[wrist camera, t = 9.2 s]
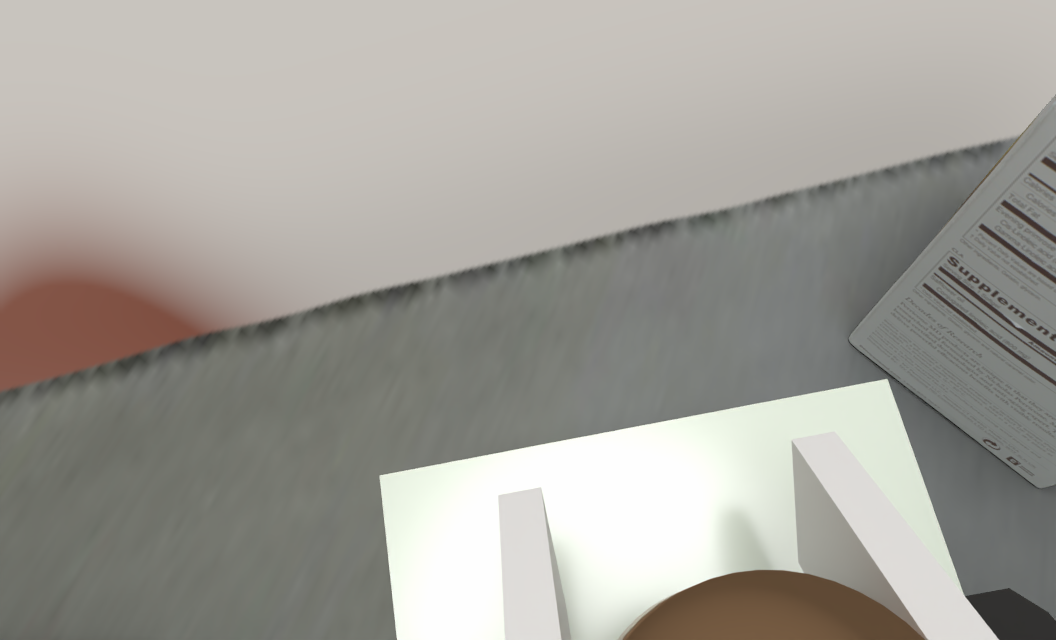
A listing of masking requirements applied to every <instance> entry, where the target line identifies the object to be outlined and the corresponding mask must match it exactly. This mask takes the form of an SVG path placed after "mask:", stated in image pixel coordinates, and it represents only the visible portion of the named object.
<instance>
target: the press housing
mask: <svg viewBox="0 0 1056 640" xmlns="http://www.w3.org/2000/svg"><path fill="white" fill-rule="evenodd" d="M834 431H835V432H836V433H837V435H838V436H839V437H840V438H841V440H842V441H843V442H844V444H845V445H846V446H847V447H848V449H849V450H850V451H851V452H852V454H853V455H854V456H855V458H856V459H857V460H858V461H859V463H860V464H861V465H862V466H863V468H864V469H865V470H866V472H867V473H868V474H869V475H870V477H871V478H872V479H873V480H874V482H875V483H876V484H877V485H878V487H879V488H880V489H881V491H882V492H883V493H884V494H885V496H886V497H887V498H888V499H889V501H890V502H891V503H892V505H893V506H894V507H895V508H896V510H897V511H898V512H899V513H900V515H901V516H902V517H903V518H904V520H905V521H906V522H907V524H908V525H909V526H910V527H911V529H912V530H913V531H914V532H915V534H916V535H917V536H918V538H919V539H920V540H921V541H922V543H923V544H924V545H925V546H926V548H927V549H928V550H929V551H930V553H931V554H932V555H933V557H934V558H935V559H936V560H937V562H938V563H939V564H940V565H941V567H942V568H943V569H944V571H945V572H946V573H947V574H948V576H949V577H950V578H951V579H952V581H953V582H954V583H955V584H956V586H957V587H958V588H959V590H960V591H961V592H962V593H963V591H962V588H961V585H960V582H959V580H958V577H957V574H956V571H955V568H954V565H953V563H952V560H951V557H950V554H949V551H948V549H947V546H946V543H945V540H944V537H943V534H942V532H941V529H940V526H939V523H938V520H937V518H936V515H935V512H934V509H933V506H932V503H931V501H930V498H929V495H928V492H927V489H926V487H925V484H924V481H923V478H922V475H921V472H920V470H919V467H918V464H917V461H916V458H915V456H914V453H913V450H912V447H911V444H910V441H909V439H908V436H907V433H906V430H905V427H904V425H903V422H902V419H901V416H900V413H899V410H898V408H897V405H896V402H895V399H894V396H893V394H892V391H891V388H890V385H889V382H888V379H884V380H879V381H874V382H868V383H863V384H858V385H853V386H847V387H842V388H837V389H832V390H826V391H821V392H816V393H811V394H805V395H800V396H795V397H790V398H784V399H779V400H774V401H769V402H763V403H758V404H753V405H748V406H742V407H737V408H732V409H727V410H721V411H716V412H711V413H706V414H700V415H695V416H690V417H685V418H680V419H674V420H669V421H664V422H659V423H653V424H648V425H643V426H638V427H632V428H627V429H622V430H617V431H611V432H606V433H601V434H596V435H590V436H585V437H580V438H575V439H569V440H564V441H559V442H554V443H548V444H543V445H538V446H533V447H527V448H522V449H517V450H512V451H506V452H501V453H496V454H491V455H485V456H480V457H475V458H470V459H464V460H459V461H454V462H449V463H443V464H438V465H433V466H428V467H422V468H417V469H412V470H407V471H401V472H396V473H391V474H386V475H380V483H381V493H382V502H383V512H384V521H385V530H386V540H387V549H388V559H389V568H390V577H391V587H392V596H393V606H394V615H395V624H396V634H397V640H505V625H504V605H503V585H502V565H501V545H500V525H499V505H498V495H502V494H507V493H512V492H518V491H523V490H528V489H533V488H539V487H541V489H542V494H543V499H544V504H545V508H546V513H547V518H548V523H549V527H550V532H551V537H552V542H553V546H554V551H555V556H556V560H557V565H558V570H559V575H560V579H561V584H562V589H563V594H564V598H565V603H566V608H567V615H568V622H569V629H570V635H571V640H618V638H619V637H620V635H621V634H622V633H623V632H624V631H625V630H626V628H627V627H628V626H629V625H630V624H631V623H632V622H633V621H634V620H635V619H636V618H637V617H639V616H640V615H641V614H642V613H643V612H645V611H646V610H647V609H648V608H650V607H651V606H653V605H655V604H656V603H658V602H660V601H661V600H663V599H665V598H666V597H668V596H671V595H673V594H675V593H678V592H680V591H682V590H685V589H687V588H689V587H692V586H694V585H697V584H699V583H701V582H704V581H706V580H709V579H711V578H715V577H719V576H723V575H727V574H731V573H735V572H743V571H752V570H786V571H792V572H799V573H804V572H803V570H802V568H801V567H800V565H799V563H798V547H797V529H796V512H795V494H794V476H793V459H792V441H791V440H792V439H797V438H802V437H808V436H813V435H818V434H823V433H829V432H834ZM963 595H964V594H963Z"/></svg>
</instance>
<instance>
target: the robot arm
mask: <svg viewBox="0 0 1056 640" xmlns="http://www.w3.org/2000/svg"><path fill="white" fill-rule="evenodd" d="M791 441H792V459H793V476H794V494H795V512H796V529H797V547H798V563H799V565H800V567H801V568H802V570H803V572H804V573H806V574H811V575H814V576H818V577H821V578H825V579H828V580H832V581H835V582H838V583H840V584H842V585H845V586H847V587H849V588H852V589H854V590H856V591H859V592H861V593H862V594H864V595H866V596H868V597H869V598H871V599H873V600H875V601H876V602H878V603H880V604H882V605H883V606H885V607H886V608H888V609H889V610H890V611H892V612H893V613H894V614H896V615H897V616H898V617H900V618H901V619H902V620H904V621H905V622H907V623H908V624H909V625H910V626H911V627H912V628H913V629H914V630H915V631H916V632H917V633H918V634H919V635H921V636H922V637H923V638H924V639H925V640H1056V621H1055V620H1054V619H1053V617H1052V616H1051V615H1050V614H1049V613H1048V612H1046V611H1045V610H1043V609H1042V608H1040V607H1038V606H1037V605H1035V604H1034V603H1032V602H1030V601H1029V600H1027V599H1026V598H1024V597H1022V596H1021V595H1019V594H1018V593H1016V592H1014V591H1013V590H1011V589H1010V588H1008V589H1002V590H997V591H991V592H986V593H981V594H975V595H970V596H964V595H963V593H962V592H961V591H960V590H959V588H958V587H957V586H956V584H955V583H954V582H953V581H952V579H951V578H950V577H949V576H948V574H947V573H946V572H945V571H944V569H943V568H942V567H941V565H940V564H939V563H938V562H937V560H936V559H935V558H934V557H933V555H932V554H931V553H930V551H929V550H928V549H927V548H926V546H925V545H924V544H923V543H922V541H921V540H920V539H919V538H918V536H917V535H916V534H915V532H914V531H913V530H912V529H911V527H910V526H909V525H908V524H907V522H906V521H905V520H904V518H903V517H902V516H901V515H900V513H899V512H898V511H897V510H896V508H895V507H894V506H893V505H892V503H891V502H890V501H889V499H888V498H887V497H886V496H885V494H884V493H883V492H882V491H881V489H880V488H879V487H878V485H877V484H876V483H875V482H874V480H873V479H872V478H871V477H870V475H869V474H868V473H867V472H866V470H865V469H864V468H863V466H862V465H861V464H860V463H859V461H858V460H857V459H856V458H855V456H854V455H853V454H852V452H851V451H850V450H849V449H848V447H847V446H846V445H845V444H844V442H843V441H842V440H841V438H840V437H839V436H838V435H837V433H836V432H835V431H834V432H829V433H823V434H818V435H813V436H808V437H802V438H797V439H792V440H791ZM498 505H499V525H500V545H501V565H502V585H503V605H504V625H505V640H571V635H570V629H569V622H568V615H567V608H566V603H565V598H564V594H563V589H562V584H561V579H560V575H559V570H558V565H557V560H556V556H555V551H554V546H553V542H552V537H551V532H550V527H549V523H548V518H547V513H546V508H545V504H544V499H543V494H542V489H541V487H539V488H533V489H528V490H523V491H518V492H512V493H507V494H502V495H498Z"/></svg>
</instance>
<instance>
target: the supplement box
mask: <svg viewBox="0 0 1056 640" xmlns="http://www.w3.org/2000/svg"><path fill="white" fill-rule="evenodd" d="M849 342H850V343H851V344H852V345H853V346H854V347H856V348H857V349H858V350H859V351H861V352H862V353H863V354H864V355H866V356H867V357H868V358H870V359H871V360H872V361H873V362H875V363H876V364H877V365H879V366H880V367H881V368H882V369H884V370H885V371H886V372H888V373H889V374H890V375H892V376H893V377H894V378H895V379H897V380H898V381H899V382H901V383H902V384H903V385H905V386H906V387H907V388H908V389H910V390H911V391H912V392H914V393H915V394H916V395H918V396H919V397H920V398H922V399H923V400H924V401H925V402H927V403H928V404H929V405H931V406H932V407H933V408H935V409H936V410H937V411H938V412H940V413H941V414H942V415H944V416H945V417H946V418H948V419H949V420H950V421H952V422H953V423H954V424H955V425H957V426H958V427H959V428H961V429H962V430H963V431H964V432H966V433H967V434H968V435H970V436H971V437H972V438H973V439H975V440H976V441H977V442H979V443H980V444H981V445H983V446H984V447H985V448H986V449H988V450H989V451H990V452H992V453H993V454H994V455H996V456H997V457H998V458H1000V459H1001V460H1002V461H1003V462H1005V463H1006V464H1007V465H1009V466H1010V467H1011V468H1013V469H1014V470H1015V471H1016V472H1018V473H1019V474H1020V475H1022V476H1023V477H1024V478H1025V479H1027V480H1028V481H1029V482H1031V483H1032V484H1033V485H1035V486H1036V487H1038V488H1046V487H1050V486H1053V485H1056V95H1055V96H1054V97H1053V98H1052V100H1051V101H1050V102H1049V103H1048V104H1047V105H1046V106H1045V108H1044V109H1043V110H1042V111H1041V112H1040V113H1039V114H1038V116H1037V117H1036V118H1035V119H1034V120H1033V121H1032V123H1031V124H1030V125H1029V126H1028V128H1027V129H1026V130H1025V131H1024V132H1023V133H1022V134H1021V135H1020V136H1019V138H1018V139H1017V140H1016V141H1015V142H1014V143H1013V145H1012V146H1011V147H1010V148H1009V149H1008V150H1007V152H1006V153H1005V154H1004V155H1003V156H1002V158H1001V159H1000V160H999V161H998V162H997V164H996V165H995V166H994V167H993V168H992V169H991V171H990V172H989V173H988V174H987V175H986V177H985V178H984V179H983V180H982V181H981V183H980V184H979V185H978V186H977V187H976V188H975V190H974V191H973V192H972V193H971V195H970V196H969V197H968V198H967V199H966V201H965V202H964V203H963V204H962V205H961V207H960V208H959V209H958V210H957V211H956V213H955V214H954V215H953V216H952V217H951V219H950V220H949V221H948V222H947V223H946V224H945V226H944V227H943V228H942V229H941V230H940V232H939V233H938V234H937V235H936V236H935V238H934V239H933V240H932V241H931V242H930V243H929V245H928V246H927V247H926V248H925V249H924V251H923V252H922V253H921V254H920V255H919V256H918V258H917V259H916V260H915V261H914V262H913V263H912V265H911V266H910V267H909V268H908V269H907V270H906V271H905V272H904V273H903V275H902V276H901V277H900V278H899V279H898V280H897V281H896V282H895V283H894V285H893V286H892V287H891V288H890V289H889V290H888V291H887V293H886V294H885V295H884V296H883V297H882V298H881V300H880V301H879V302H878V303H877V304H876V305H875V306H874V308H873V309H872V310H871V311H870V312H869V313H868V315H867V316H866V317H865V318H864V319H863V320H862V321H861V323H860V324H859V325H858V326H857V327H856V329H855V330H854V331H853V332H852V334H851V335H850V337H849Z"/></svg>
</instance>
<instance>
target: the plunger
mask: <svg viewBox="0 0 1056 640" xmlns="http://www.w3.org/2000/svg"><path fill="white" fill-rule="evenodd" d="M618 640H925V639H924V638H923V637H922V636H921V635H919V634H918V633H917V632H916V631H915V630H914V629H913V628H912V627H911V626H910V625H909V624H908V623H907V622H905V621H904V620H902V619H901V618H900V617H898V616H897V615H896V614H894V613H893V612H892V611H890V610H889V609H888V608H886V607H885V606H883V605H882V604H880V603H878V602H876V601H875V600H873V599H871V598H869V597H868V596H866V595H864V594H862V593H861V592H859V591H856V590H854V589H852V588H849V587H847V586H845V585H842V584H840V583H838V582H835V581H832V580H828V579H825V578H821V577H818V576H814V575H811V574H806V573H799V572H792V571H786V570H752V571H743V572H735V573H731V574H727V575H723V576H719V577H715V578H711V579H709V580H706V581H704V582H701V583H699V584H697V585H694V586H692V587H689V588H687V589H685V590H682V591H680V592H678V593H675V594H673V595H671V596H668V597H666V598H665V599H663V600H661V601H660V602H658V603H656V604H655V605H653V606H651V607H650V608H648V609H647V610H646V611H645V612H643V613H642V614H641V615H640V616H639V617H637V618H636V619H635V620H634V621H633V622H632V623H631V624H630V625H629V626H628V627H627V628H626V630H625V631H624V632H623V633H622V634H621V635H620V637H619V638H618Z"/></svg>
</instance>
